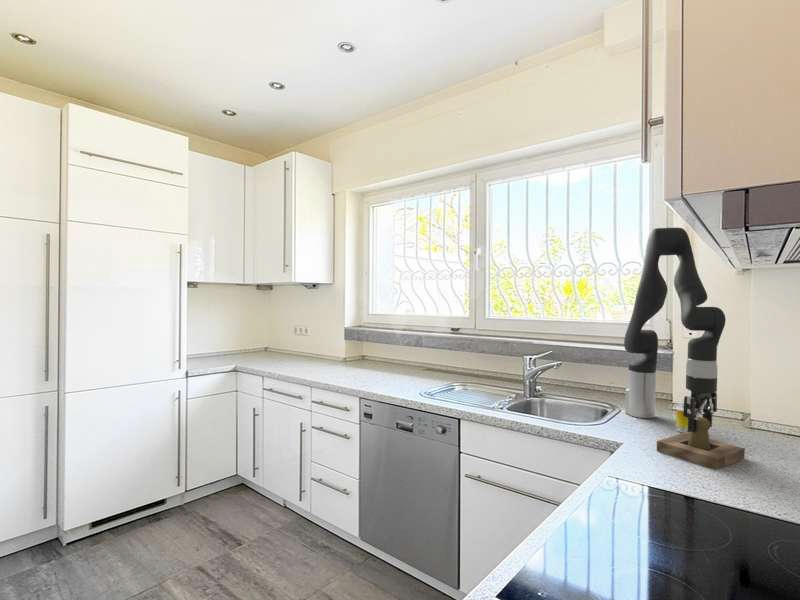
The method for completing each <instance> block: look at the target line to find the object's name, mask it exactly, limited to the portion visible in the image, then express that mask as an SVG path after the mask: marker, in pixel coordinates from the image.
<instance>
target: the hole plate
mask: <svg viewBox="0 0 800 600" xmlns="http://www.w3.org/2000/svg"><path fill="white" fill-rule="evenodd" d="M689 436H690V434H689V433H681V432H680V433H679V434H675V435H672V436H669V437H665V438H662V439H659V440H656V452H660V453H662V454H665V455H668V456H671V457H676V458H679V459H681V460H684V461H687V462H691V463H694V464H697V465H700V466H703V467H706V468H710V469H713V470H715V471H719V470H721V469H723V468H726V467H728V466H730V465H732V464H734V463H737V461H738V462H740V461H742V459H743V460H745V458H746V457H745V452H746V451H745V450H746V448H744V447H741V446H738V445H733V444H731V443H726V442H722V441H718V440H714V439H710V438H709V442H710V451H706V450H702V449H699V448H695V447H692V446H688V442H689Z"/></svg>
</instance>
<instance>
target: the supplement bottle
mask: <svg viewBox="0 0 800 600" xmlns="http://www.w3.org/2000/svg"><path fill="white" fill-rule="evenodd" d="M683 411H684V400H680V401H679V406H677V407H676V421H675V422H676V423H675V425H676V426H675V427H676V428H675V429H676V431H677V432H679V433H681V432H682V433H689V434H690V431H688V418H687V417H684V416H683ZM687 413H688V409H687ZM695 413H696V412H695Z"/></svg>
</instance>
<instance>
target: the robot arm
mask: <svg viewBox="0 0 800 600" xmlns="http://www.w3.org/2000/svg"><path fill="white" fill-rule="evenodd" d="M688 234H689V233H687V231H686V230H685V228H683V227H658V228H653V229H652V230H651V231H649V234H648V235H647V236H648V237H647V241H646V247H645V253H644V260H643V268H642V271H641V276H640V280H639V284H638V288H637V290H636V295H635V300H634V305H633V310H632V315H631V316H630V320H629V323H628V326H627V328H626V332H625V335H624V339H623V346H624V347H623V348H624V350H625V351H626V352H627V353H630V354H643V356H642V357H641V358H639V359H637V360H633V361H630V362H629V364H628V375H627V377H628V378H627V379H628V381H627V382H628V383H627V384H628V387H627V388H626V389H625V405H624V406H625V407H624V408H625V410H624V411H625V414H627V415H629V416H632V417H635V418H640V419H654V418H655V417H656V380H657V377H656V375H657V372H656V371H657V365H658V364H657V363H658V350H659V349H658V348H659V338H658V337H659V336H658V333H657V332H656V331H655V330H653V329H652V330H651V329H642V328H644V326H645V324H646V323H647V322H648V321H649V320H651V319H652V318H653V317H654V316H655V315H656V314H658V312H661V311H660V310H662V308H663V307H664V304H665V303H666V298H667V294H668V292H669V291H668V285H667V283H666V281H665V279H664V277H663V275H662V273H661V271H660V267H659V262H660V258H661V256H677V258H678V261H679V264H678V266H677V269H676V272H675V273H674V277H673V286H674V289H675V292H676V294H677V297H678V299H679V302H680V303H679V304H680V320H681V323H682V326H683V327H684V328H686V329H687V330H688V331H694V332H695V331H696V332H698V331H699V332H700V331H701V332H702V331H704V332H703V334H702V335H701V336H699V337H695V338H692V339H690V340H689V341H688V342H687V360H686V367H685V368H686V371H685V388H686V389H687V390H688V391H690V392H691V393H690V395H689V396H688V395H684V399H683V401H684V411H683V416H684V417H687V418H688V431H690V432H694V433H695V432H697V426H698V420H697V419H698V417H700V416H699V415H701V414H702V413H703V414H702V418H706V419H708V420H709V422H710V428H712V427H713V416H714V413H716V412H717V411H718V363H717V361H718V360H717V357H718V356H717V355H718V346H719V342H720V339H721V337H722V334H723V332H724V328H725V325H726V320H727V319H726V315H725V312H724V311H723V310H722V309H721V308H719V307H718V306H702V304H704V303H706V302H707V301H708V293H707V291H706V289H705V286H704V285H703V283H702V282H703V281H701V278H700V275H699V273H698V270H697V266H696V261H695V258H694V256H695V255H694V252H693V248H692V244H691V241H690V237H689V235H688ZM687 409H688V413H687ZM695 412H696V413H695Z"/></svg>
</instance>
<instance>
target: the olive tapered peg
mask: <svg viewBox="0 0 800 600" xmlns="http://www.w3.org/2000/svg"><path fill="white" fill-rule="evenodd" d="M697 420H698V426H697V432H695V433H694V432H690V436H689V442H688V446H692V447H695V448H699V449H702V450H706V451H710V442H709V439H710V436H709V435H710V434H709V430H710V428H711V427H710V422H709V420H708V419H706V418H703V416H702V417H701V416H698V419H697Z"/></svg>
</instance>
